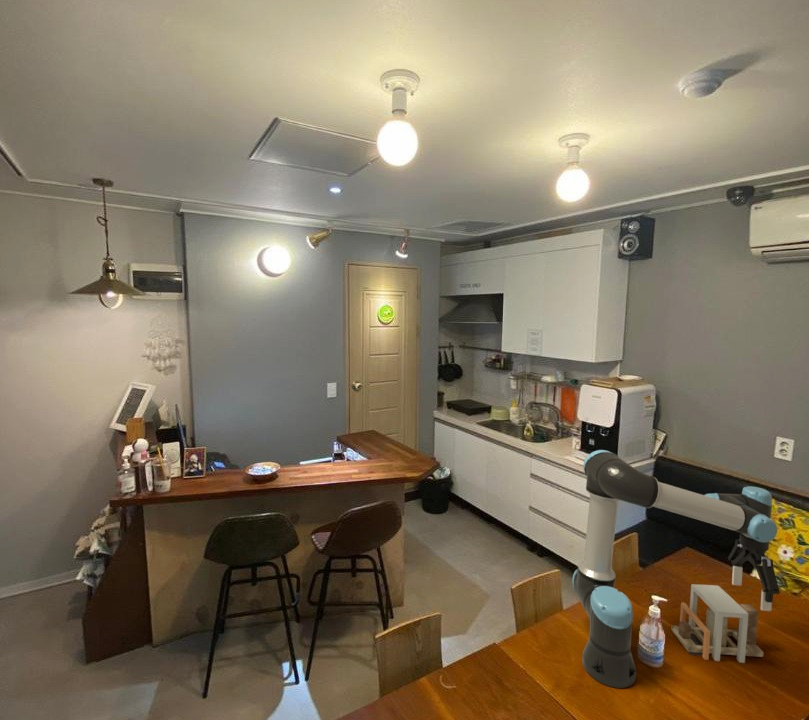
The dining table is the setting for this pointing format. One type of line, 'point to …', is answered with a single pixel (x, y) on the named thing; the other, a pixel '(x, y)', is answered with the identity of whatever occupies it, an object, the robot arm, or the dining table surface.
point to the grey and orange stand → (716, 618)
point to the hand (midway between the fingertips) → (750, 596)
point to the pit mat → (695, 644)
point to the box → (710, 625)
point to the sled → (751, 647)
